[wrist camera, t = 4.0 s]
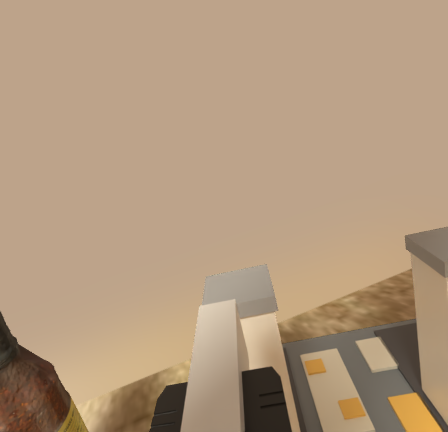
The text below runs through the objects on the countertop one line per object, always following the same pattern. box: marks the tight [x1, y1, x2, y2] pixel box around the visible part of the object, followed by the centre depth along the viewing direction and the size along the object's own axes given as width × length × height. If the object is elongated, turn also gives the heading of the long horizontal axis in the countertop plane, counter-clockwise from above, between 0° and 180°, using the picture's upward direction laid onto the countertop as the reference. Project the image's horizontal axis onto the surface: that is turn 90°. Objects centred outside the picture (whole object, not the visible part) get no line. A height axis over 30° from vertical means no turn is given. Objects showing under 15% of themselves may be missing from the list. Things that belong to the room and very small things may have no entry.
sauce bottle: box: [0, 312, 88, 432], centre depth 22 cm, size 7×6×20 cm
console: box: [282, 319, 448, 432], centre depth 29 cm, size 23×14×2 cm, turn 89°
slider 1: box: [202, 264, 300, 432], centre depth 24 cm, size 4×4×13 cm
